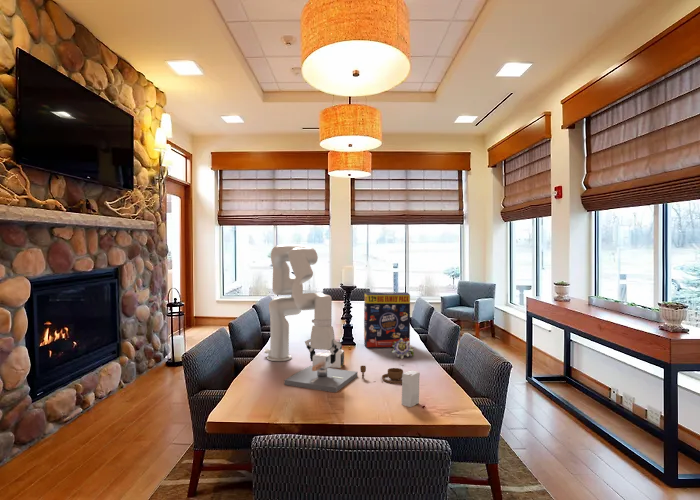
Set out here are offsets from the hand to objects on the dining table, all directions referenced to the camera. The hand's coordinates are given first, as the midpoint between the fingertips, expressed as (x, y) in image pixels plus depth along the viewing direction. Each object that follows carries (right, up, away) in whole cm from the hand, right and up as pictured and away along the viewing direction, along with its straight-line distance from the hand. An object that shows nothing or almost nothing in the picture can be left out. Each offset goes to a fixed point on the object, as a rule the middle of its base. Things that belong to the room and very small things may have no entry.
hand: (322, 361), depth 193 cm
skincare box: (+35, -9, -27) cm, 45 cm away
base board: (0, -8, 0) cm, 8 cm away
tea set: (+29, -9, +5) cm, 31 cm away
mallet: (-1, -2, -2) cm, 3 cm away
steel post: (0, -6, 0) cm, 6 cm away
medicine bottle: (+5, -8, +23) cm, 25 cm away
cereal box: (+34, -8, +66) cm, 75 cm away
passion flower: (+40, -8, +42) cm, 59 cm away
